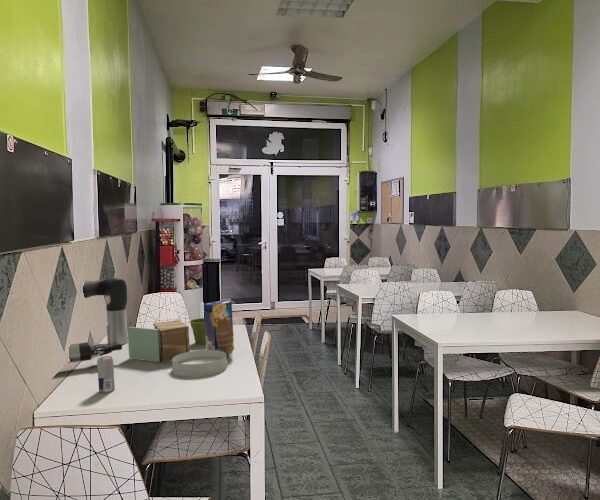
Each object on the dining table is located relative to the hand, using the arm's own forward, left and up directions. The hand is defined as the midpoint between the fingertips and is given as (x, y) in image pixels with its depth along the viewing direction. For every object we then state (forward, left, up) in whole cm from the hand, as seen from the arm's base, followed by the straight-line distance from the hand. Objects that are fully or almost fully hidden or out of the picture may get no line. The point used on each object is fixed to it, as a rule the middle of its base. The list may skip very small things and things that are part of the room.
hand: (121, 346), depth 222 cm
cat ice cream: (+44, -6, -7) cm, 45 cm away
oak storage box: (+21, +4, -7) cm, 22 cm away
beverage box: (+42, +6, -7) cm, 43 cm away
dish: (+33, -21, -7) cm, 40 cm away
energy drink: (0, -39, -7) cm, 39 cm away
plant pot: (+34, +24, -7) cm, 43 cm away
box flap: (+10, -1, -6) cm, 12 cm away
